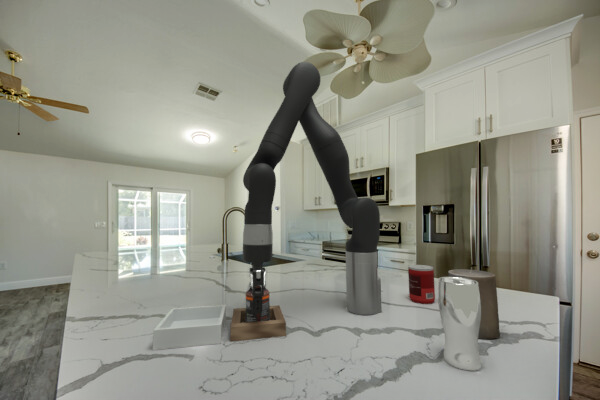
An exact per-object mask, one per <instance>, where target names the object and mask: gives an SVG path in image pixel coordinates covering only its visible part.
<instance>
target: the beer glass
mask: <svg viewBox="0 0 600 400" xmlns="http://www.w3.org/2000/svg"><path fill="white" fill-rule="evenodd" d="M437 290H438V292H437V294H438V295H437V297H438V299H437V301H438V310H439V316H440V319H441V324H442V328H443V333H444V348H443V359H444V362H446V363H447V364H448V365H449V366H450V365H451V366H452V367H454V368H456V369H458V370H459V369H460V370H462V371H463V370H464V371H467V372H469V371H470V372H475V371H479V370H481V369H482V360H481V356H480V352H479V345H478V344H479V338H478V335H479V328H480V321H481V300H480V292H479V286H478V282H477V281H475V280H472V279H467V278H460V277H449V276H441V277H438V287H437Z"/></svg>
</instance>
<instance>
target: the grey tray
mask: <svg viewBox="0 0 600 400" xmlns="http://www.w3.org/2000/svg"><path fill="white" fill-rule="evenodd" d="M226 321H227V304H220V305H219V304H218V305H216V304H215V305H202V306H191V307H190V306H189V307H174V308H171V309H170V310H169V311H168V313H166V315H165V316H164V317H163V318H162V319H161V321H160V322H159V323H158V324H157V326H156V327H155V328H154V329H153V330H152V331H153V333H152V351H158V350H166V349H167V350H169V349H176V348H177V349H179V348H190V347H197V346H198V347H200V346H210V345H218V344H219V345H220V344H222V340H223V336H224V331H225V325H226Z"/></svg>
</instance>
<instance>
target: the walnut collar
mask: <svg viewBox="0 0 600 400" xmlns="http://www.w3.org/2000/svg"><path fill="white" fill-rule="evenodd" d="M269 307H270V321H259V322H247V323H246V307H239V308H233V311H232V317H231V323H230V342H237V341H238V342H239V341H247V340H256V339H257V340H258V339H259V340H260V339H267V338H270V339H271V338H276V337H279V338H280V337H286V336H287V329H286V328H287V321H286V320H285V317H284V314H283V311H282V308H281V306H280V305H270V306H269Z"/></svg>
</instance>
